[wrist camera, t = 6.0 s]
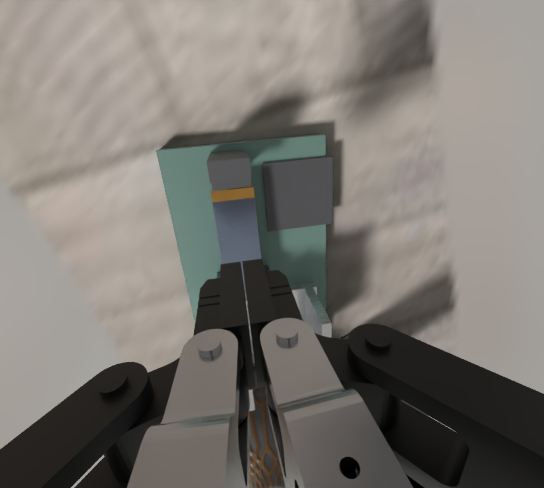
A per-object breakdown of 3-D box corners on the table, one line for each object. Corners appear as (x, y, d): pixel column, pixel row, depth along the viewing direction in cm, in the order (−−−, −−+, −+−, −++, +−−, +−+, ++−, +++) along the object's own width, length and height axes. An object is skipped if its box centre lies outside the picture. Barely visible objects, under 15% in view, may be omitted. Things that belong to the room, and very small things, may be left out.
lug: (210, 152, 17) (206, 161, 14) (244, 149, 17) (249, 157, 14) (214, 179, 18) (211, 194, 14) (247, 175, 18) (252, 190, 14)
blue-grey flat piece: (204, 189, 17) (203, 193, 16) (258, 183, 18) (261, 187, 16) (222, 297, 20) (222, 307, 19) (269, 291, 20) (272, 300, 19)
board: (160, 148, 18) (155, 151, 17) (325, 133, 19) (332, 134, 18) (204, 350, 24) (203, 363, 23) (326, 330, 25) (331, 341, 24)
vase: (293, 349, 26) (325, 452, 18) (297, 404, 28) (325, 515, 20) (214, 363, 25) (209, 477, 17) (225, 418, 28) (226, 538, 20)
